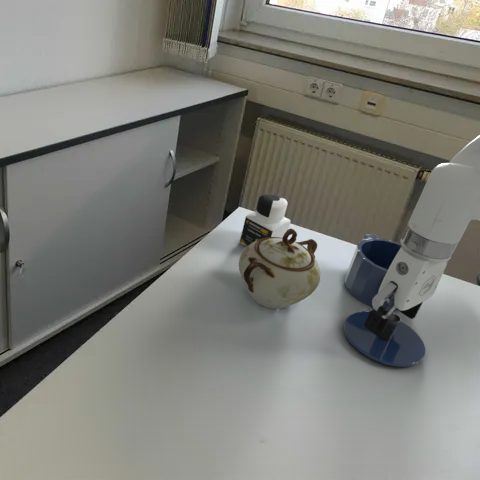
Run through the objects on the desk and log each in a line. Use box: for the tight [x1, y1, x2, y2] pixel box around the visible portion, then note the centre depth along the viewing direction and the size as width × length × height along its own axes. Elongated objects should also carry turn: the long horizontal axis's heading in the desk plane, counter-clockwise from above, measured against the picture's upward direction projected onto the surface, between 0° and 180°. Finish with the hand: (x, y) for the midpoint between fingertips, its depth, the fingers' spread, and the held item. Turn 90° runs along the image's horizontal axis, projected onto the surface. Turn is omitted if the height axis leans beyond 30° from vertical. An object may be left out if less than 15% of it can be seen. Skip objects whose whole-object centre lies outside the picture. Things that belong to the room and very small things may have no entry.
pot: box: [344, 233, 402, 311], centre depth 108 cm, size 13×18×8 cm
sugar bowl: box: [238, 228, 321, 310], centre depth 101 cm, size 20×15×15 cm
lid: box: [343, 310, 426, 368], centre depth 95 cm, size 14×14×6 cm
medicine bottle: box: [239, 193, 292, 247], centre depth 117 cm, size 7×7×12 cm
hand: (389, 322), depth 94 cm, fingers open, 9 cm apart
